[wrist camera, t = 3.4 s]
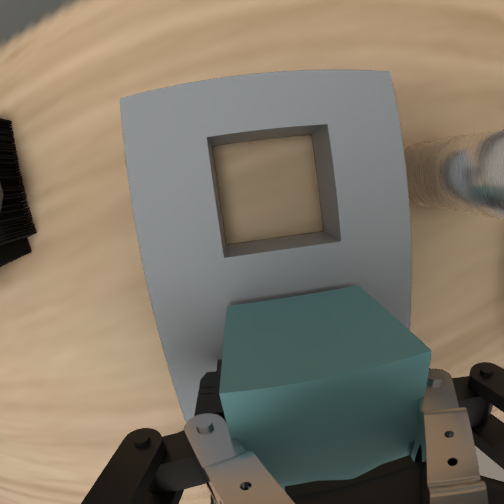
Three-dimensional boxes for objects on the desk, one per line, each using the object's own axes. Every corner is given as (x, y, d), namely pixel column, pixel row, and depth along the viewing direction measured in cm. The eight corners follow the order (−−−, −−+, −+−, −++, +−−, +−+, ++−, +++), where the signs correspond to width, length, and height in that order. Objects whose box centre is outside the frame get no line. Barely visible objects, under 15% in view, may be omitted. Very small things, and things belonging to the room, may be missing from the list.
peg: (444, 143, 16) (579, 129, 6) (449, 203, 16) (585, 227, 7) (394, 143, 16) (535, 118, 6) (401, 208, 16) (542, 238, 7)
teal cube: (358, 285, 13) (431, 350, 7) (358, 390, 14) (405, 475, 8) (226, 306, 13) (219, 393, 7) (246, 410, 14) (251, 509, 8)
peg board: (365, 87, 15) (414, 54, 10) (384, 359, 18) (423, 408, 13) (139, 112, 15) (98, 83, 9) (191, 390, 18) (180, 453, 13)
